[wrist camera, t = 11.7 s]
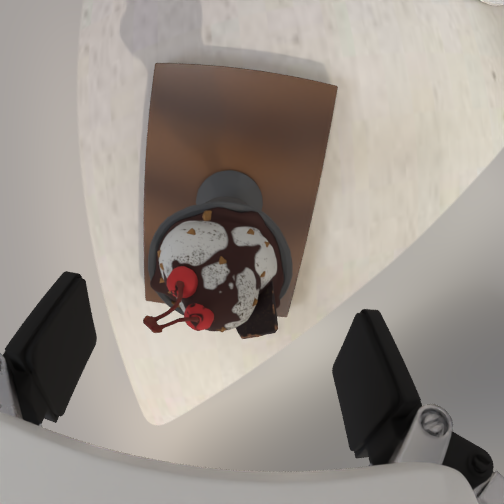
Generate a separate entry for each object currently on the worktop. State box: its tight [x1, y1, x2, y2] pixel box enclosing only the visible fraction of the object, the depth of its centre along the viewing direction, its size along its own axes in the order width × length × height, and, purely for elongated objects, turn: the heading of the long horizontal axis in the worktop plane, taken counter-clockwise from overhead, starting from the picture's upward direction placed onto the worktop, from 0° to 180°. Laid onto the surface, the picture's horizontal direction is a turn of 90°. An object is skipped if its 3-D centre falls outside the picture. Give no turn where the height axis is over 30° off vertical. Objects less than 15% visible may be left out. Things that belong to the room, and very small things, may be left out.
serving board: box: [144, 63, 338, 317], centre depth 24 cm, size 20×13×2 cm, turn 172°
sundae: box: [143, 170, 293, 339], centre depth 16 cm, size 7×7×15 cm
